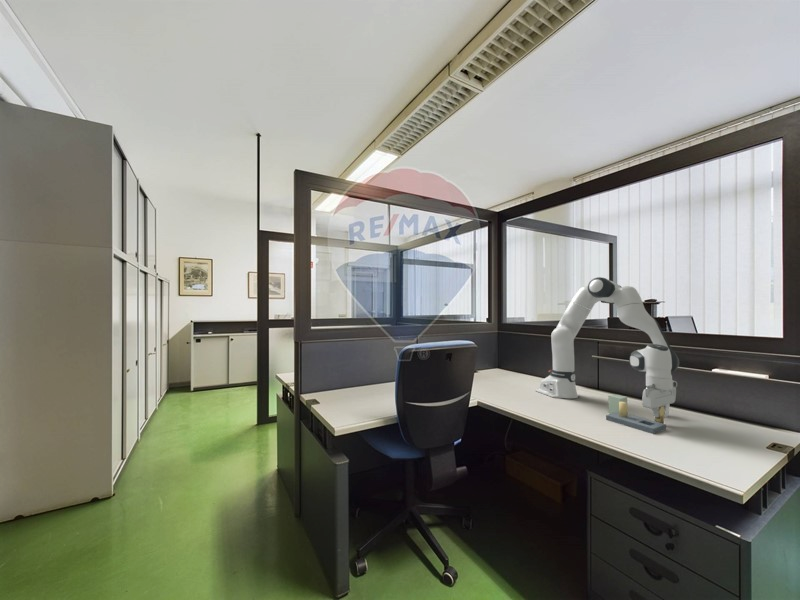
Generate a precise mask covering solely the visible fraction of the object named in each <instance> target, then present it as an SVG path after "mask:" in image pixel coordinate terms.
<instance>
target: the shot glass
mask: <svg viewBox="0 0 800 600" xmlns="http://www.w3.org/2000/svg"><path fill="white" fill-rule="evenodd" d="M669 415H670V404H668V405H667V408H666V410H665V415H664V418H667V417H669Z"/></svg>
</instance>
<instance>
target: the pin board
mask: <svg viewBox="0 0 800 600" xmlns="http://www.w3.org/2000/svg"><path fill="white" fill-rule="evenodd" d="M605 420H606V421H610V422H613V423H616V424H619V425H622V426H625V427H630V428H632V429H636V430H638V431H639V430H640V431H643V432H647V433H648V434H649V433H650V434H653V435H654V434H657V433H660V432H662V431H665V430H667V424H666V423H664V424H663V423H659V422H655V420H652V419H647V418H644V417H640V416H637V415H632V414H629V411H628V402H627V403H626V402H619V412H616V413H609V414H606V415H605Z"/></svg>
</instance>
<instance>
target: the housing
mask: <svg viewBox="0 0 800 600" xmlns="http://www.w3.org/2000/svg"><path fill="white" fill-rule="evenodd" d="M619 402H626V403H627V404H628V396H623V395H620V394H610V395H608V413H609V414H612V413H616V412H619Z"/></svg>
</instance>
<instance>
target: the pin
mask: <svg viewBox="0 0 800 600" xmlns="http://www.w3.org/2000/svg"><path fill="white" fill-rule="evenodd" d="M658 411H659V413H660V417H654V421H655V422H659V423H663V424H665V417H664V406H661V407H659V409H658Z"/></svg>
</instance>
